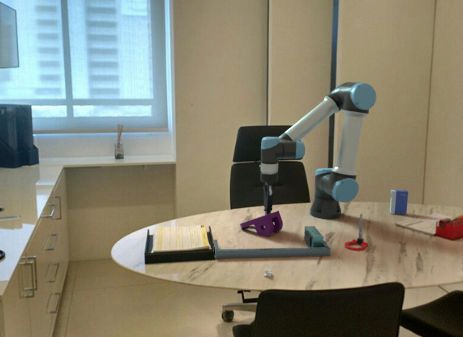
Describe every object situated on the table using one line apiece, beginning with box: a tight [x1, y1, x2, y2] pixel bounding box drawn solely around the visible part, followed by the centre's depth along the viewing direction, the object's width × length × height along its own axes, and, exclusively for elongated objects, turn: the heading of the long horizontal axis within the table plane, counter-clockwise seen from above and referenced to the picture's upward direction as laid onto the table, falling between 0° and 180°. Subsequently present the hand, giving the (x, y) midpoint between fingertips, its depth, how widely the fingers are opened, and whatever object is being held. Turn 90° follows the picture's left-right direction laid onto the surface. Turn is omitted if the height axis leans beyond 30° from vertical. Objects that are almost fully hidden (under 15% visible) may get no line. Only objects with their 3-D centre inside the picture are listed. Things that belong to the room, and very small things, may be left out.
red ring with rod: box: [343, 213, 369, 252], centre depth 192 cm, size 8×13×9 cm
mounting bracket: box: [239, 210, 284, 238], centre depth 211 cm, size 10×8×18 cm
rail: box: [212, 225, 331, 260], centre depth 192 cm, size 44×24×6 cm, turn 95°
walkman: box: [389, 189, 409, 215], centre depth 241 cm, size 8×3×12 cm, turn 88°
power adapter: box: [264, 267, 273, 277], centre depth 164 cm, size 3×3×3 cm
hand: (267, 224), depth 216 cm, fingers closed
